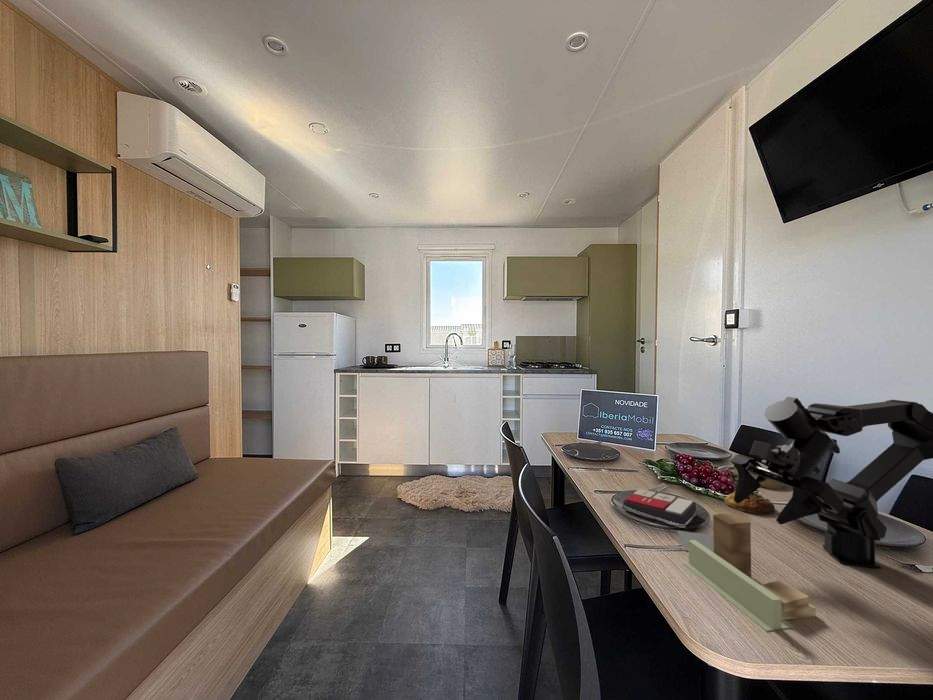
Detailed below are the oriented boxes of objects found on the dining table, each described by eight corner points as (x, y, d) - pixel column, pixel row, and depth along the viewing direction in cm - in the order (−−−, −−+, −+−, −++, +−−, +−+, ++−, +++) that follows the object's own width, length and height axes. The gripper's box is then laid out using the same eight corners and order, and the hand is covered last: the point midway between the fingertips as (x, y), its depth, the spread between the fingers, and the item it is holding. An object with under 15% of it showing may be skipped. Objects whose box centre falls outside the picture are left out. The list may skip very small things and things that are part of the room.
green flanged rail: (705, 562, 76) (704, 538, 76) (793, 628, 58) (793, 597, 58) (683, 564, 75) (683, 541, 75) (766, 632, 58) (766, 601, 58)
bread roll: (780, 518, 94) (776, 498, 94) (728, 515, 99) (724, 496, 100) (770, 503, 103) (767, 485, 104) (723, 501, 109) (720, 484, 109)
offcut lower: (785, 596, 66) (785, 588, 66) (815, 616, 61) (815, 607, 61) (751, 599, 65) (751, 590, 65) (779, 620, 60) (779, 611, 60)
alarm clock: (789, 482, 110) (729, 465, 118) (785, 497, 111) (726, 480, 119) (782, 471, 120) (727, 456, 128) (779, 485, 120) (724, 470, 128)
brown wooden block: (733, 565, 75) (732, 512, 75) (751, 578, 71) (750, 522, 71) (714, 568, 74) (713, 514, 74) (730, 580, 70) (730, 524, 70)
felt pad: (725, 538, 85) (725, 536, 85) (739, 559, 77) (739, 558, 77) (676, 532, 89) (676, 530, 89) (685, 552, 80) (685, 550, 80)
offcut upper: (779, 588, 65) (780, 580, 65) (808, 605, 61) (809, 596, 61) (755, 594, 64) (756, 585, 64) (784, 612, 59) (784, 603, 59)
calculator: (638, 487, 108) (695, 499, 97) (639, 501, 108) (697, 515, 97) (622, 498, 101) (682, 512, 90) (623, 513, 101) (683, 530, 90)
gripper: (737, 418, 83) (694, 470, 82) (829, 439, 65) (776, 506, 63) (767, 450, 84) (726, 502, 83) (867, 480, 66) (815, 546, 64)
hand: (755, 511), depth 73 cm, fingers open, 9 cm apart
